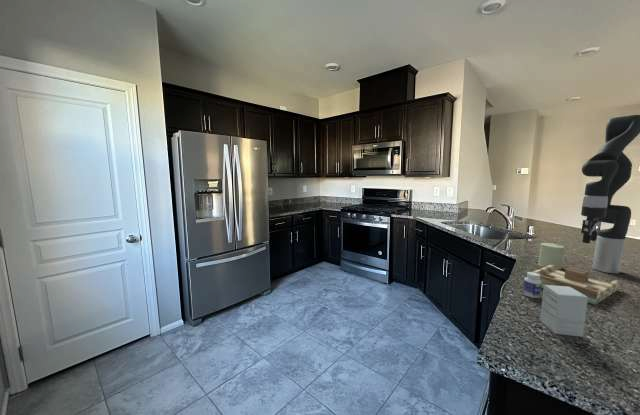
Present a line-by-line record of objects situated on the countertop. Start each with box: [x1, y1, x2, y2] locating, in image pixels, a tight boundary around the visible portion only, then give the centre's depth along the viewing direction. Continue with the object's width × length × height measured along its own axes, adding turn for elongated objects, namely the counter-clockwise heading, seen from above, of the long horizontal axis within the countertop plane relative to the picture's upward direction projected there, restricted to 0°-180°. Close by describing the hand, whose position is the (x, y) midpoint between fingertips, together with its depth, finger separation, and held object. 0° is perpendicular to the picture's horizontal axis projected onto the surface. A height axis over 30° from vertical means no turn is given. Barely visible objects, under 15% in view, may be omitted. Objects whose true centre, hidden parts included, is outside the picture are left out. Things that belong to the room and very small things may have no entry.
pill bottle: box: [522, 271, 542, 299], centre depth 100 cm, size 5×5×9 cm
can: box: [537, 242, 565, 270], centre depth 132 cm, size 9×9×12 cm
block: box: [564, 266, 590, 283], centre depth 111 cm, size 6×6×4 cm
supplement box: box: [539, 285, 588, 338], centre depth 78 cm, size 7×7×13 cm
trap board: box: [525, 265, 620, 305], centre depth 109 cm, size 26×22×5 cm
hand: (589, 241), depth 114 cm, fingers open, 7 cm apart
